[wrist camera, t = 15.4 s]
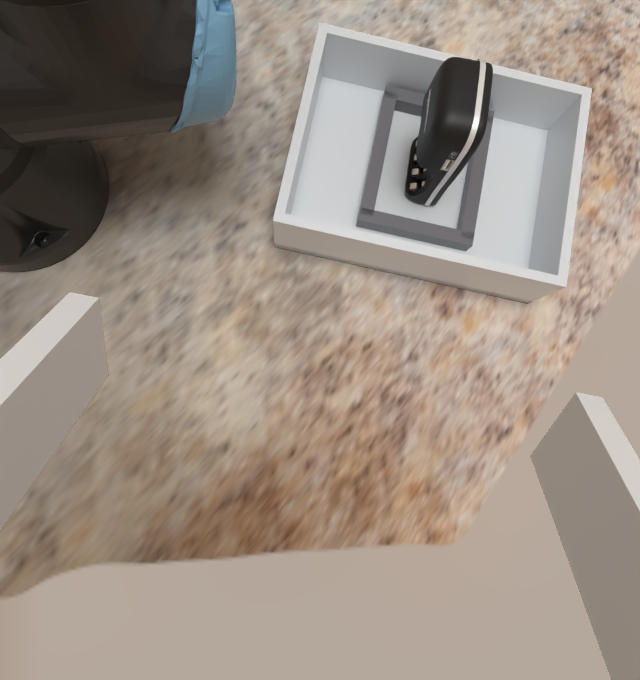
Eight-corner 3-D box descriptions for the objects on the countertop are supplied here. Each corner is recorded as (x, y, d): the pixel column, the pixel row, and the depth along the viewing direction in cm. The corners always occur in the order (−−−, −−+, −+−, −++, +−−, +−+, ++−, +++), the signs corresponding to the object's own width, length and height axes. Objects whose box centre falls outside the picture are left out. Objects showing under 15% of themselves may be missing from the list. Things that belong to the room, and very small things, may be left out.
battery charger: (404, 134, 43) (445, 38, 32) (443, 141, 43) (498, 49, 32) (394, 203, 42) (432, 129, 31) (434, 210, 42) (487, 140, 31)
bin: (274, 246, 42) (272, 220, 36) (315, 73, 44) (319, 22, 39) (527, 303, 43) (566, 287, 37) (552, 129, 45) (591, 88, 39)
